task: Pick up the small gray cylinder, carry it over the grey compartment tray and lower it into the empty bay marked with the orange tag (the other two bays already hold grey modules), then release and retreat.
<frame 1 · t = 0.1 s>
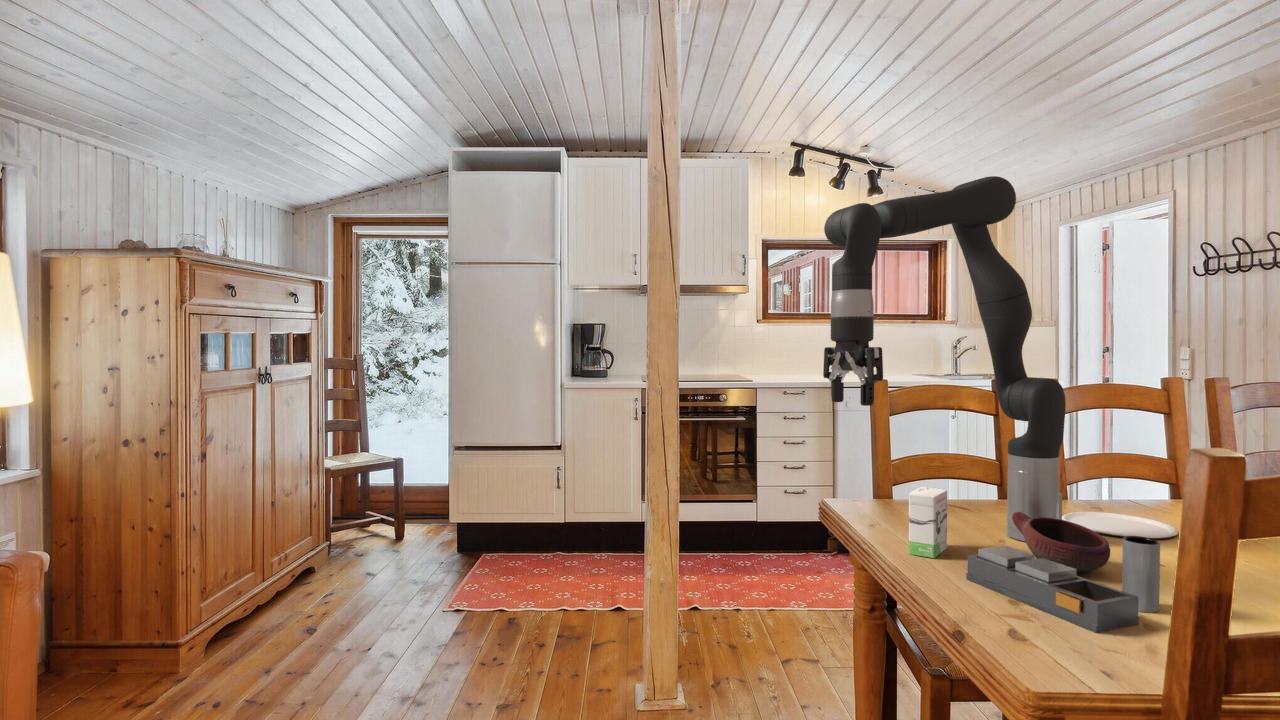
hand: (851, 403, 123), 29 cm above the table, fingers open, 8 cm apart
bowl: (1056, 568, 120), on the table
plate: (1117, 529, 146), on the table
ink box: (927, 552, 129), on the table
gray cylinder: (1140, 608, 101), on the table
grey compartment tray: (1045, 599, 104), on the table
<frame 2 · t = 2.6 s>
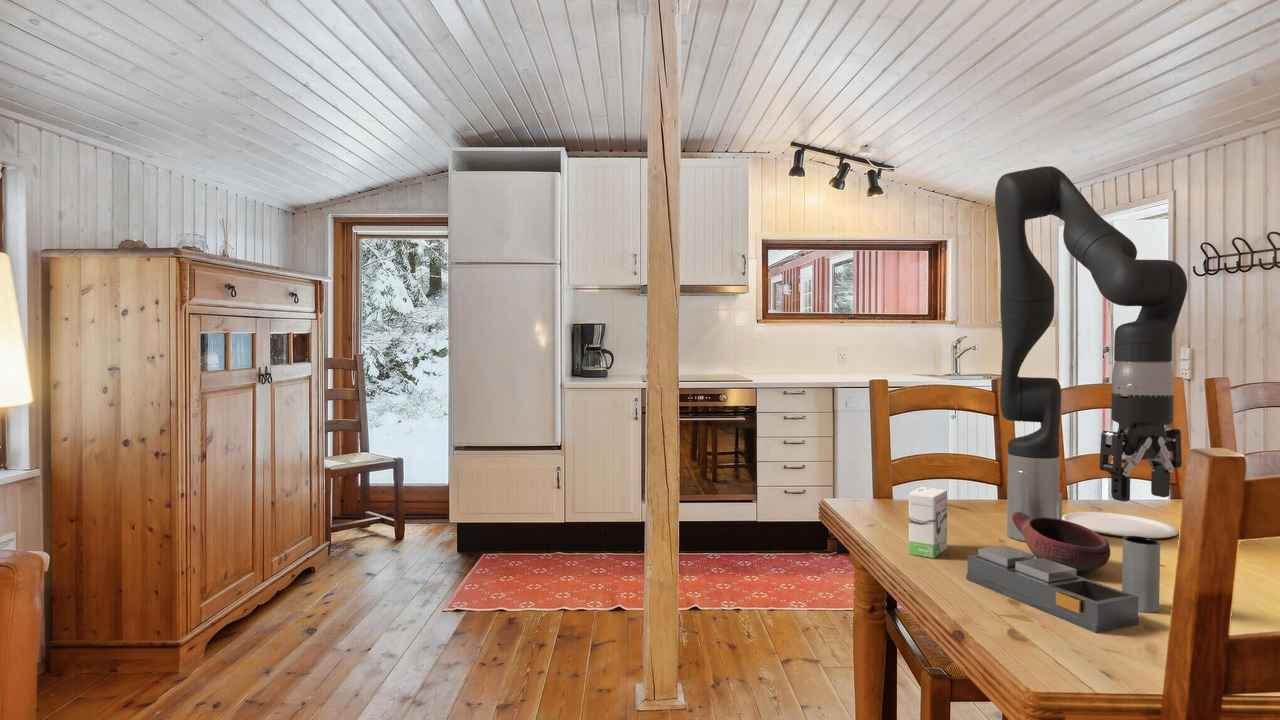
hand: (1140, 498, 101), 17 cm above the table, fingers open, 8 cm apart
nothing on the table moved.
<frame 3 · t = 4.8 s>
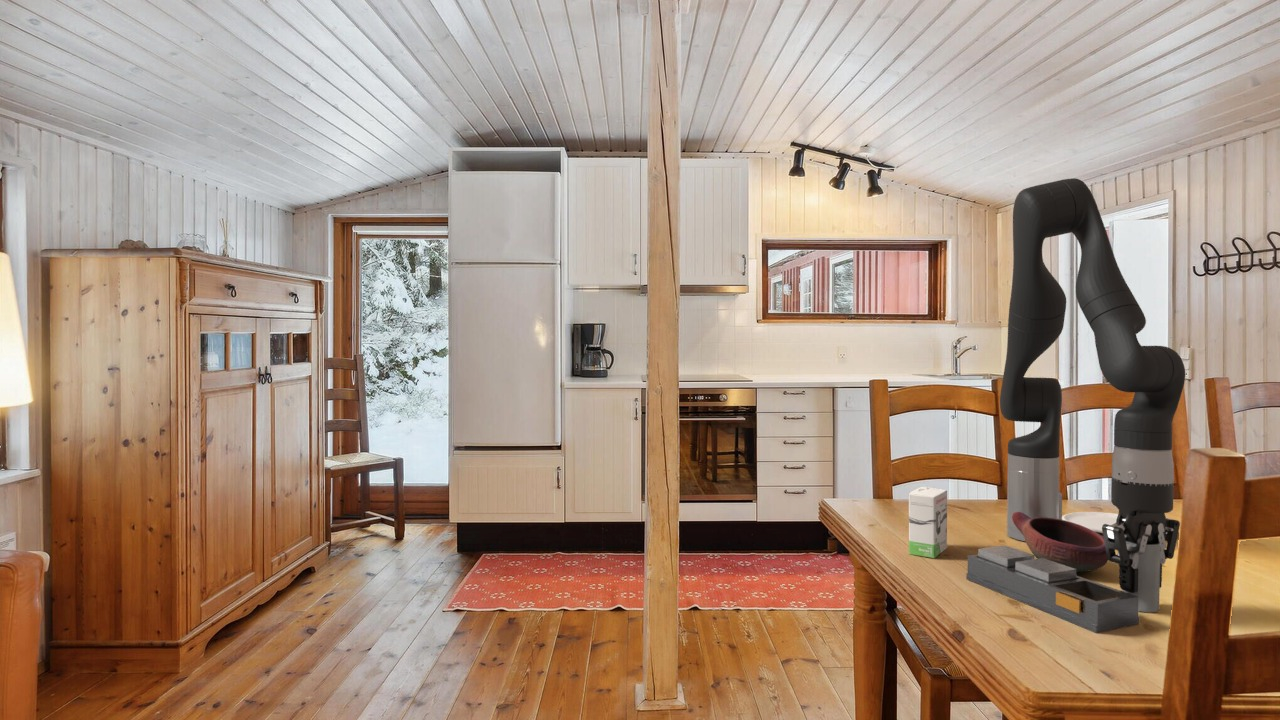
hand: (1140, 588, 101), 3 cm above the table, fingers closed on gray cylinder, 4 cm apart
gray cylinder: (1140, 608, 101), on the table, touching gripper
everything else where it was.
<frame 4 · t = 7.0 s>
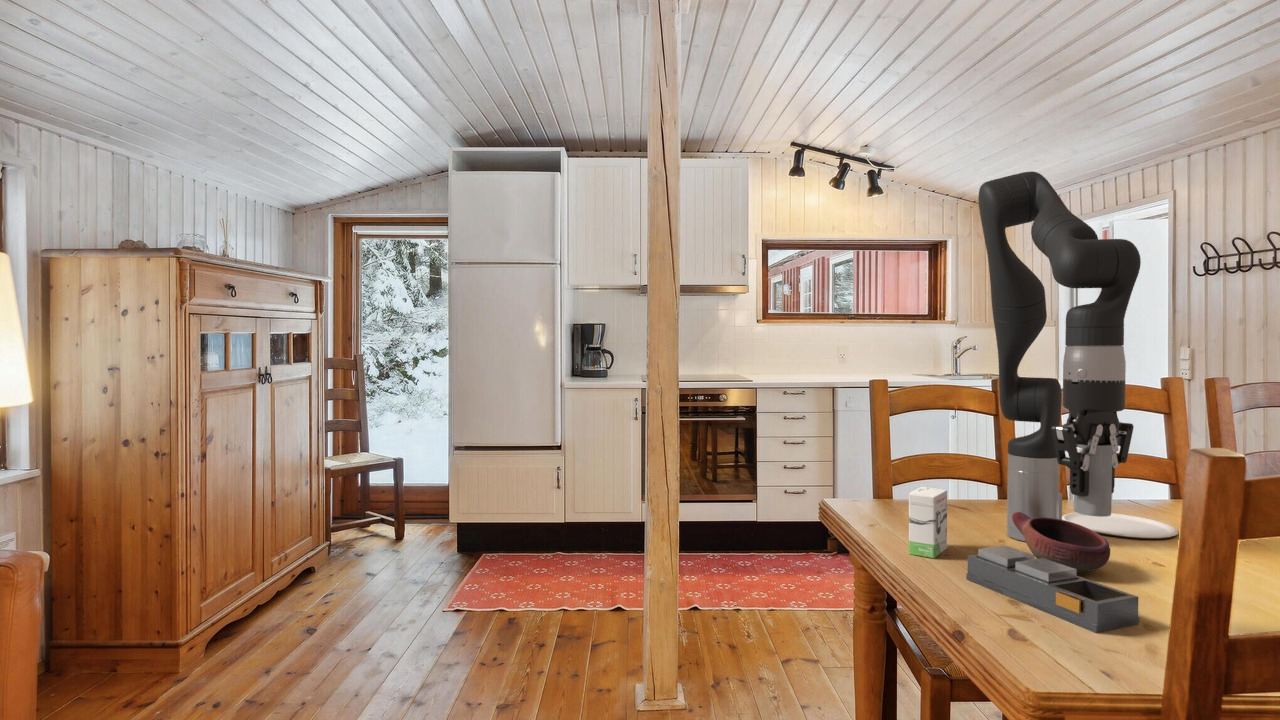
hand: (1092, 493, 97), 18 cm above the table, fingers closed on gray cylinder, 4 cm apart
gray cylinder: (1092, 514, 97), point 15 cm above the table, touching gripper
everything else where it was.
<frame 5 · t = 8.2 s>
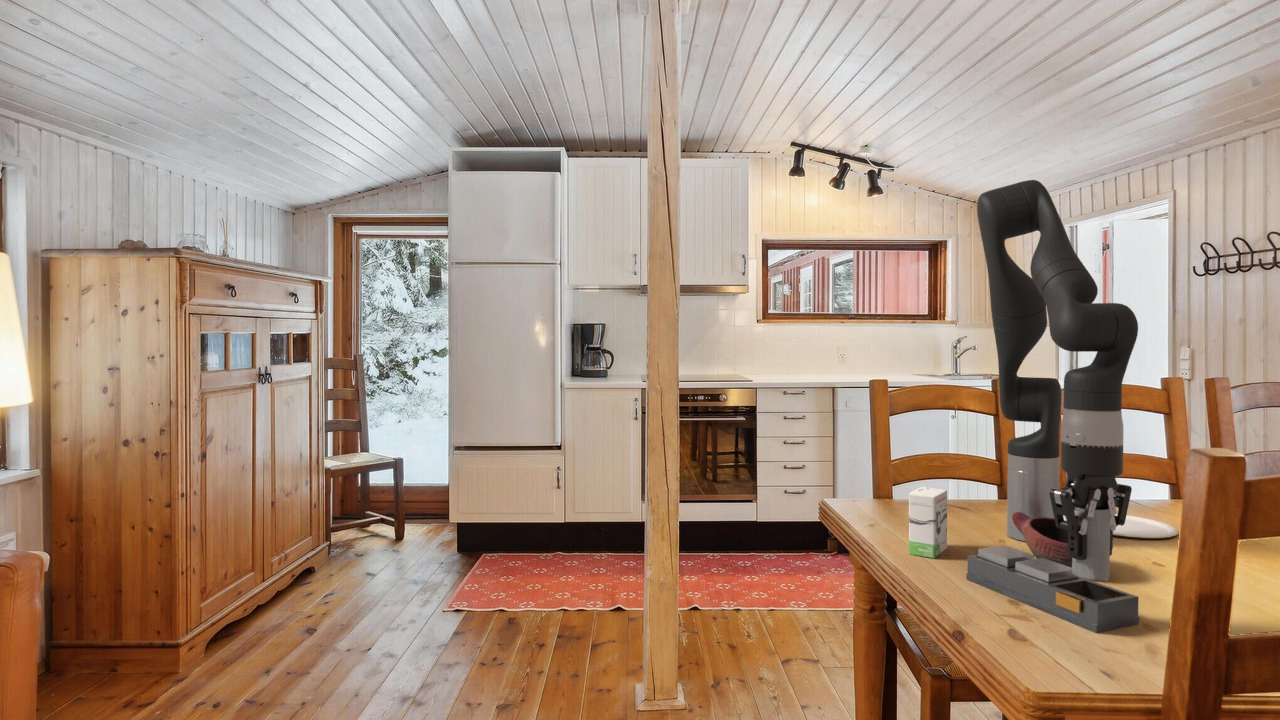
hand: (1090, 556, 97), 9 cm above the table, fingers closed on gray cylinder, 4 cm apart
gray cylinder: (1090, 576, 98), point 6 cm above the table, touching gripper
everything else where it was.
when the fingers open (5 cm above the table, at t = 9.3 s): gray cylinder drops 1 cm, resting on grey compartment tray.
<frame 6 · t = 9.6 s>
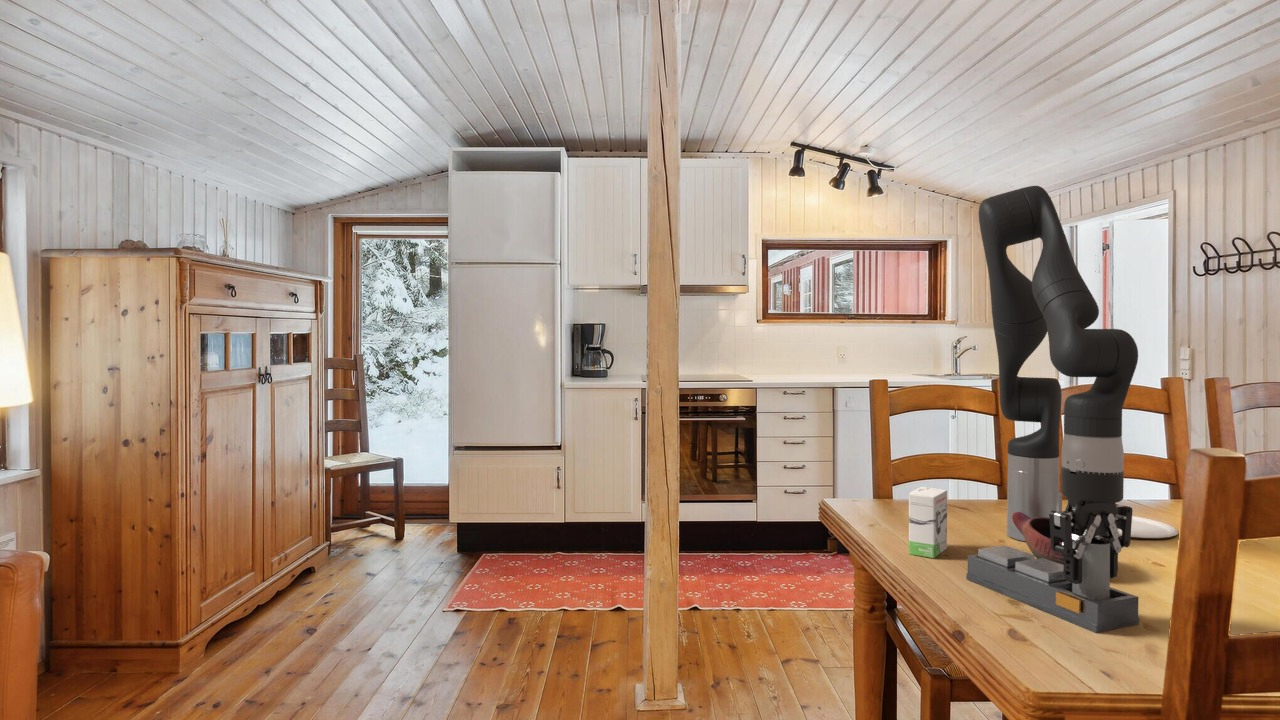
hand: (1090, 579, 97), 6 cm above the table, fingers open, 6 cm apart
gray cylinder: (1090, 611, 98), point 1 cm above the table, touching grey compartment tray
everything else where it was.
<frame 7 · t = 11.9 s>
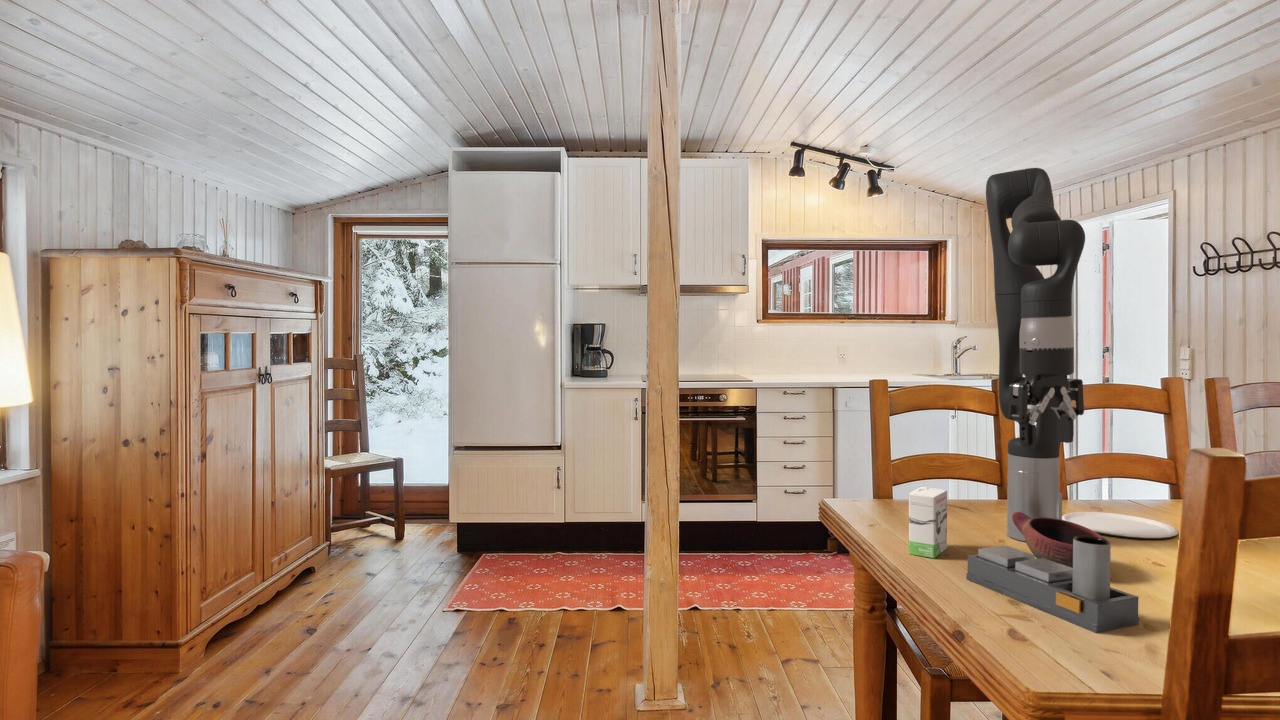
hand: (1046, 444, 109), 24 cm above the table, fingers open, 8 cm apart
nothing on the table moved.
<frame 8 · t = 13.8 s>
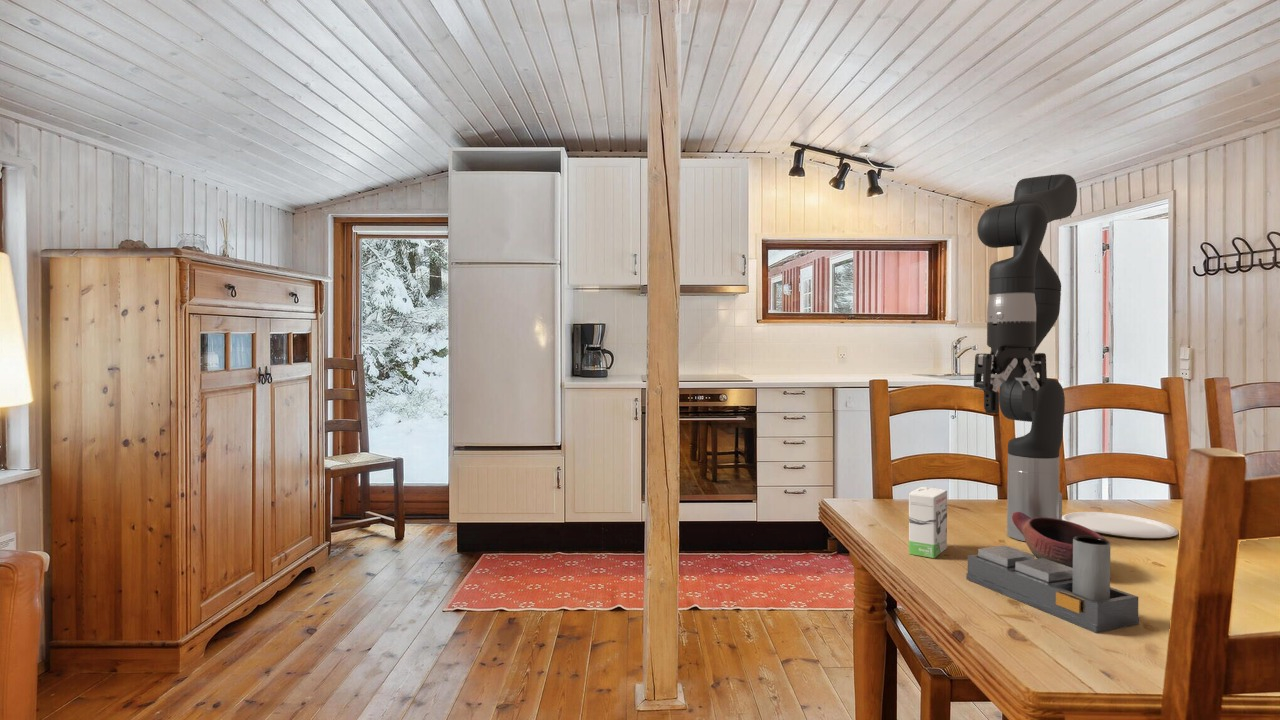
hand: (1010, 412, 117), 28 cm above the table, fingers open, 8 cm apart
nothing on the table moved.
at the end: gray cylinder 0.2 cm from the target spot on the grey compartment tray, point 0.9 cm above the grey compartment tray's base; gray cylinder tilted 0°; the gripper is holding nothing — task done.
